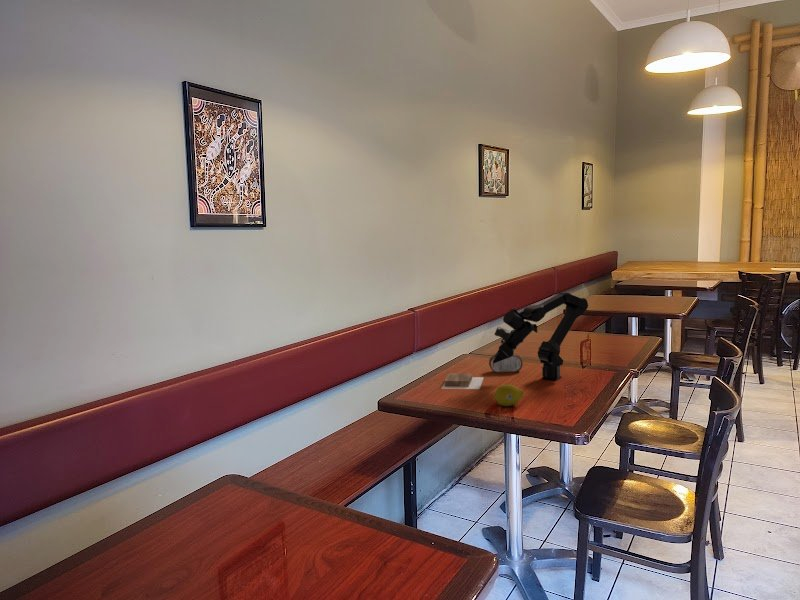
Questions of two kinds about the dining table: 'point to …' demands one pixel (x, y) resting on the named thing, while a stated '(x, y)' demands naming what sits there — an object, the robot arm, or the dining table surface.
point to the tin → (506, 364)
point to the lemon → (508, 395)
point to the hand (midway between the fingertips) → (494, 359)
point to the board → (458, 380)
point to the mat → (474, 384)
